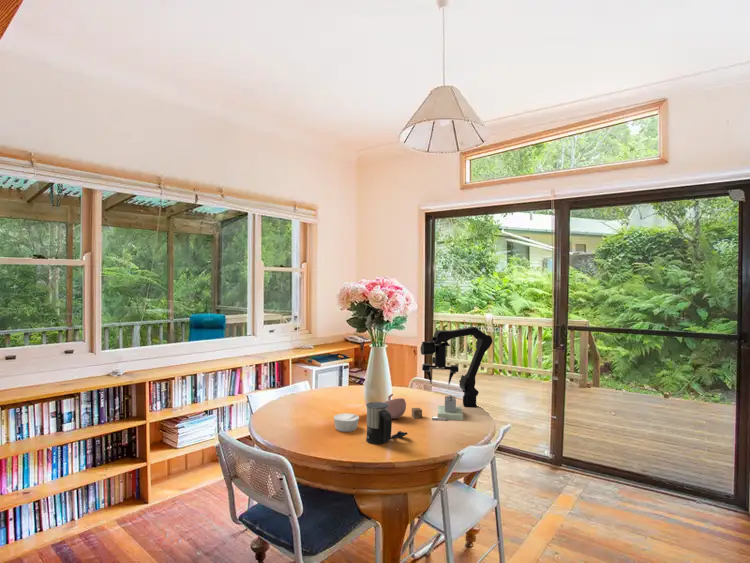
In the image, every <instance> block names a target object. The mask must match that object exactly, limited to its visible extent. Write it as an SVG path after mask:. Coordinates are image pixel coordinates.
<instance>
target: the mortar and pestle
mask: <svg viewBox="0 0 750 563" xmlns="http://www.w3.org/2000/svg"><path fill="white" fill-rule="evenodd" d="M393 395H394V394H393V393H390V395H388V396H387V399H388V400H385V401H383V403H387V404H388V405H389V406H388V412H389V413H390V415H391V418H392V420H394V419H400V418H401V417H402V416H404V414H405V412H406V410H407V402H406V399H405V398H402V397H400V398H394V399H391V398H392V397H393Z"/></svg>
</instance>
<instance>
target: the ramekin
mask: <svg viewBox="0 0 750 563" xmlns="http://www.w3.org/2000/svg"><path fill="white" fill-rule="evenodd" d="M333 420H334V427H335V429H336V430H337V431H338V432H342V433H349V432H353V431H356V430H357V429H358V424H359V420H360V416H359V415H357V414H354V413H346V412H344V413H339V414H335V415H334V416H333Z"/></svg>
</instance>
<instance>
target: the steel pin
mask: <svg viewBox="0 0 750 563" xmlns="http://www.w3.org/2000/svg"><path fill="white" fill-rule="evenodd" d="M431 418H432V419H431V420H432V421H443V420H444V421H445V422H446V421H448V420H447V417H438V416H432V417H431Z"/></svg>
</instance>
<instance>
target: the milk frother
mask: <svg viewBox="0 0 750 563" xmlns="http://www.w3.org/2000/svg"><path fill="white" fill-rule="evenodd" d="M383 402H384V401H383ZM383 402H382V401H373V402H368V403H366V404H365V405H366V438H365V441H366V442H367V443H369V444H373V445H382V444H385V443H388V442H389V441H391V440H393V439H398V438H399V439H402V438H403V437H405V436H406V435H408V432H405V431H401V430H400V431H397V432H396V433H395V434H393V435H392V423H393V419H392V418H391V415H390V413H389V412H388V406H389V405H388V404H387V403H383Z"/></svg>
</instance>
